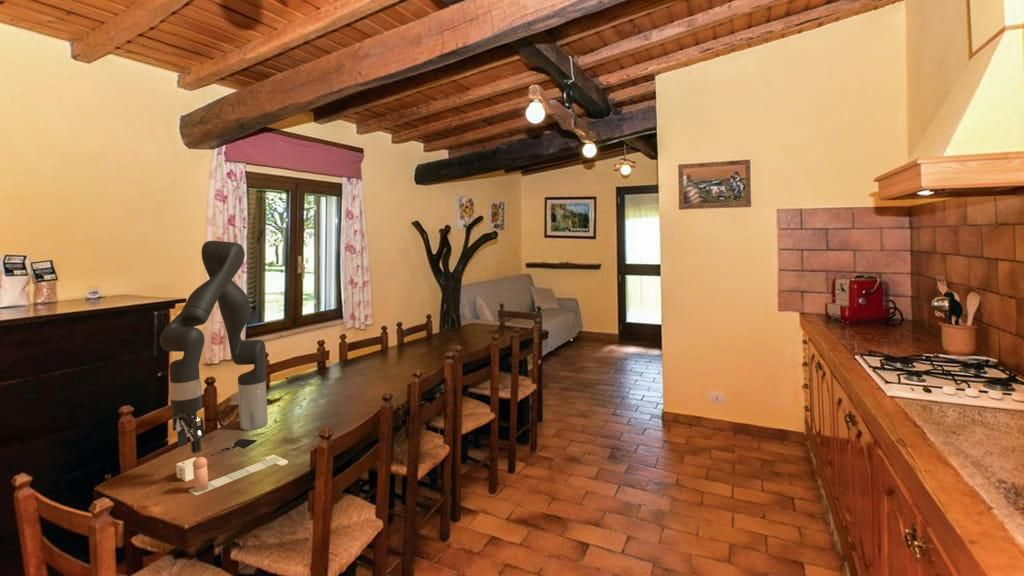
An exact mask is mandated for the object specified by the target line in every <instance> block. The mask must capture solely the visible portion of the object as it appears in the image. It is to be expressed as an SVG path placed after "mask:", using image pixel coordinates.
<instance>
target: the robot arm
mask: <svg viewBox="0 0 1024 576" xmlns="http://www.w3.org/2000/svg"><path fill="white" fill-rule="evenodd" d="M200 253H201V254H200V255H201V260H202V263H203V266H204V268H205V271H206V273H207V275H208V277H209V279H207V280H206V281H205V282H203V283H202V284H200V285H198V287H196V288H195V289H194V290H193V291H192V292H191V294H190V295H189V296H188V298H187V300H186V301H185V304H184V305H183V307H182V310H181V311H180V313H178V314H177V315H176V316H175V317H174V318H173V319H171V322H169V324H167V326H165V328H164V329H163V330H162V332H161V334H160V337H159V343H160V346H161V348H162V350H165V351H166V352H170V353H171V352H173V353H174V352H178V353H179V352H180V353H182V352H183V356H182V358H180V359H176V360H173V361H171V362H170V364H169V366H168V367H169V383H170V384H169V400H170V412H171V414H172V415H171V417H172V420H171V421H172V430H173V432H174V431H175V434H176V435H177V446H178V447H184V446H187V445H188V437H189V438H190V451H191V453H192V454H196V453H200V452H201V451H202V442H201V439H204V438H205V437H206V435H205V426H204V424H205V423H204V418H203V417H198V414H197V413H198V412H199V411H201V410H202V408H203V398H202V397H203V394H202V383H201V378H200V362H201V357H202V353H203V350H204V346H205V340H206V339H205V336H204V335H205V334H204V332H203V331H202V330H201V329H200V328H198V326H202V325H205V324H206V323H207V321H208V319H209V318H210V316H211V314H212V312H213V310H214V308H215V305H216V303H217V305H218V308H219V311H220V314H221V315H220V316H221V317H222V321H223V323H224V327H225V331H226V335H227V339H228V340H227V341H228V346H229V350H230V357H231V358H232V361H233V363H234V364H235V365H237V366H238V365H239V366H245V365H247V366H249V365H250V366H251V365H253V368H252V369H251V370H249V371H246V372H244V373H241V374H240V375H238V377H237V387H238V388H237V389H238V414H239V415H238V416H239V418H238V419H239V428H240V429H241V430H242V429H244V430H243V431H253V430H258V429H261V428H263V427H266V426H267V425H268V424H269V421H268V401H267V399H268V398H267V377H266V374H267V373H266V371H267V370H266V369H267V368H266V367H267V366H266V360H267V359H266V358H267V357H266V355H267V348H266V347H267V346H266V344H265V342H264V340H262V339H245V340H244V339H242V337H241V335H242V332H243V330H244V329H245V327H246V326H247V324H248V322H249V320H250V318H251V315H252V308H251V305H250V300H249V297H248V295H247V294H246V292H245V291H244V290H243V288H241V287H240V286H239V285H238V284H237V283H236V282H235V281H234V280H233V279H234V277H235V276H236V275H237V273H238V272H239V271H240V269H241V267H242V265H243V264H244V261H245V256H246V255H245V254H246V253H245V249H244V247H243V246H242V244H240V243H239V242H233V241H223V240H221V241H220V240H206V242H204V243H203V245H202V247H201V251H200Z"/></svg>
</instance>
